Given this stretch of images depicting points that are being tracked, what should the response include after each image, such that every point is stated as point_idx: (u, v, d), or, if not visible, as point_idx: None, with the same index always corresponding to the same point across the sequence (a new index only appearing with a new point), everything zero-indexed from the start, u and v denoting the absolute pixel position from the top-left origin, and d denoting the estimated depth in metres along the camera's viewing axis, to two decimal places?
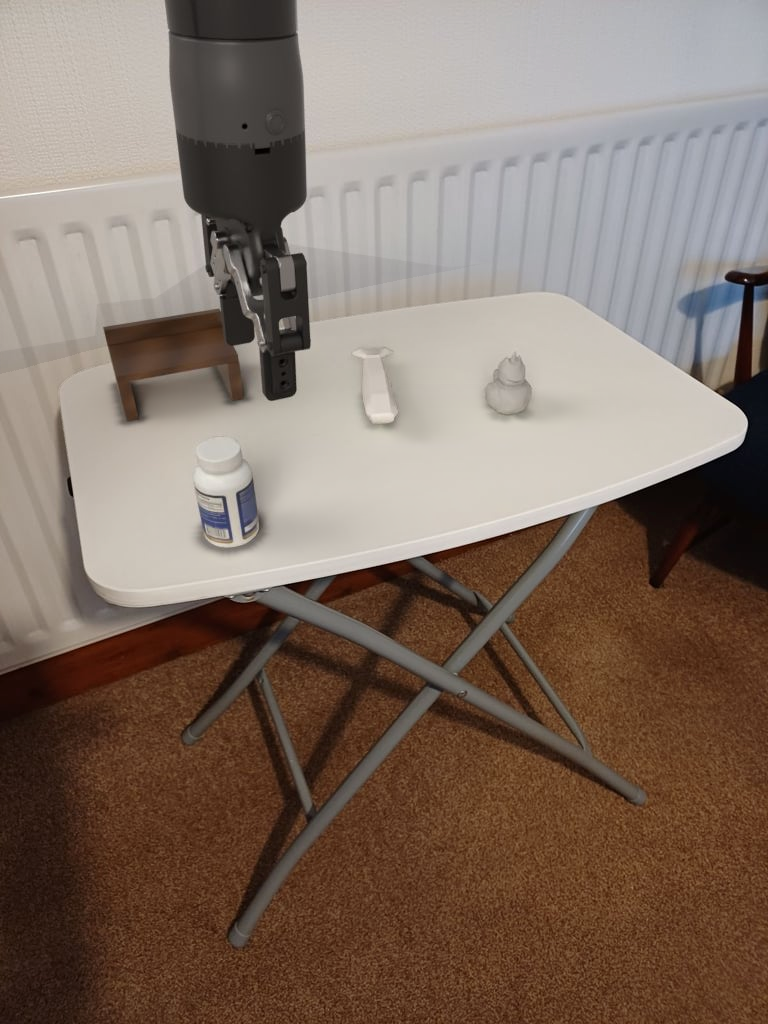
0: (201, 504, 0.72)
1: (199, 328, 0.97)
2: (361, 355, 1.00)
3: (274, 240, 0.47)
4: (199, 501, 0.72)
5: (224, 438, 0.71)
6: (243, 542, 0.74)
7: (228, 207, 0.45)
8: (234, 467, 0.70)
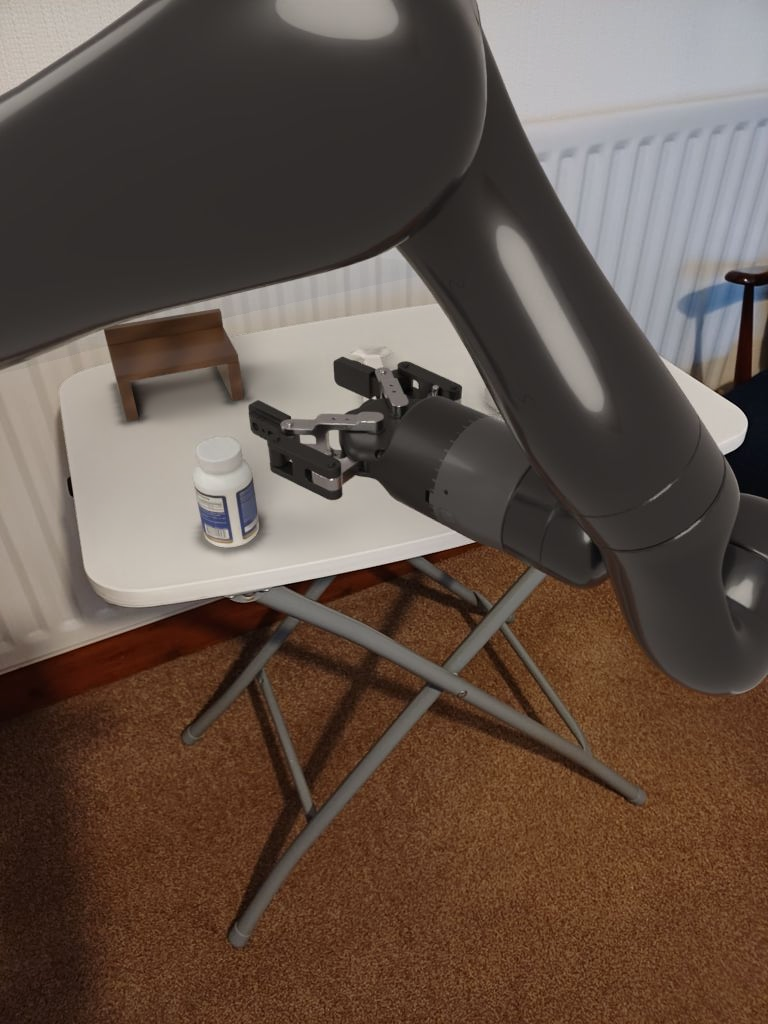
0: (201, 504, 0.72)
1: (199, 328, 0.97)
2: (361, 355, 1.00)
3: (366, 470, 0.51)
4: (199, 501, 0.72)
5: (224, 438, 0.71)
6: (243, 542, 0.74)
7: (396, 446, 0.49)
8: (234, 467, 0.70)
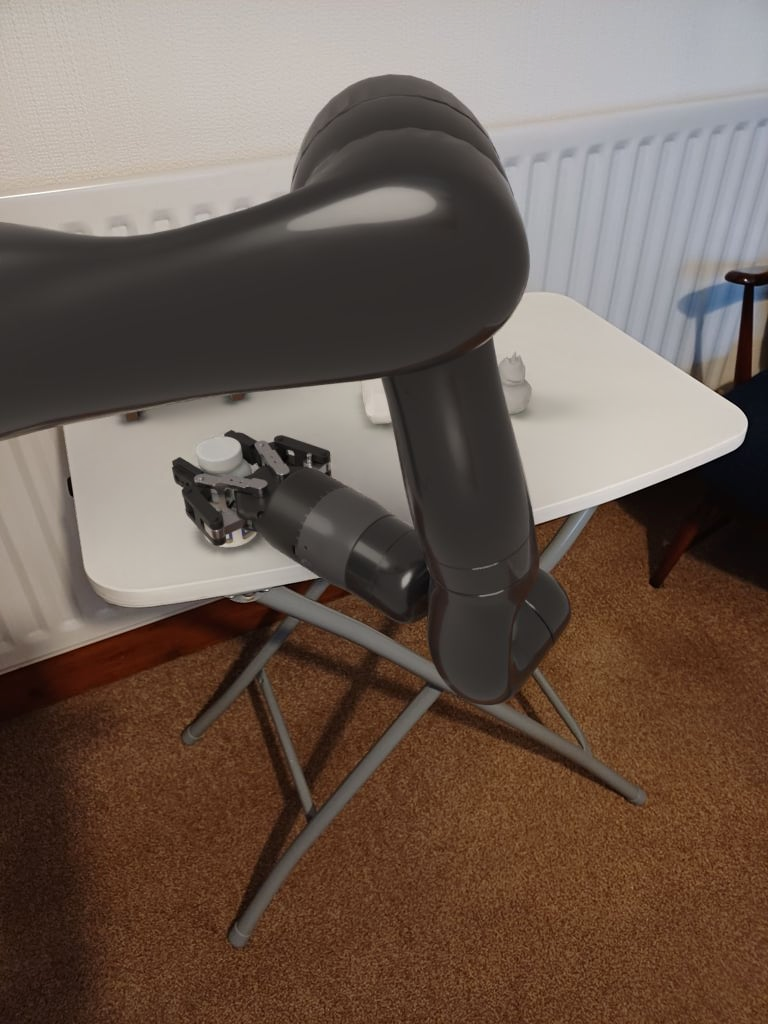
0: None
1: None
2: None
3: (249, 526, 0.65)
4: None
5: (224, 438, 0.71)
6: (243, 542, 0.74)
7: (271, 510, 0.63)
8: (234, 467, 0.70)
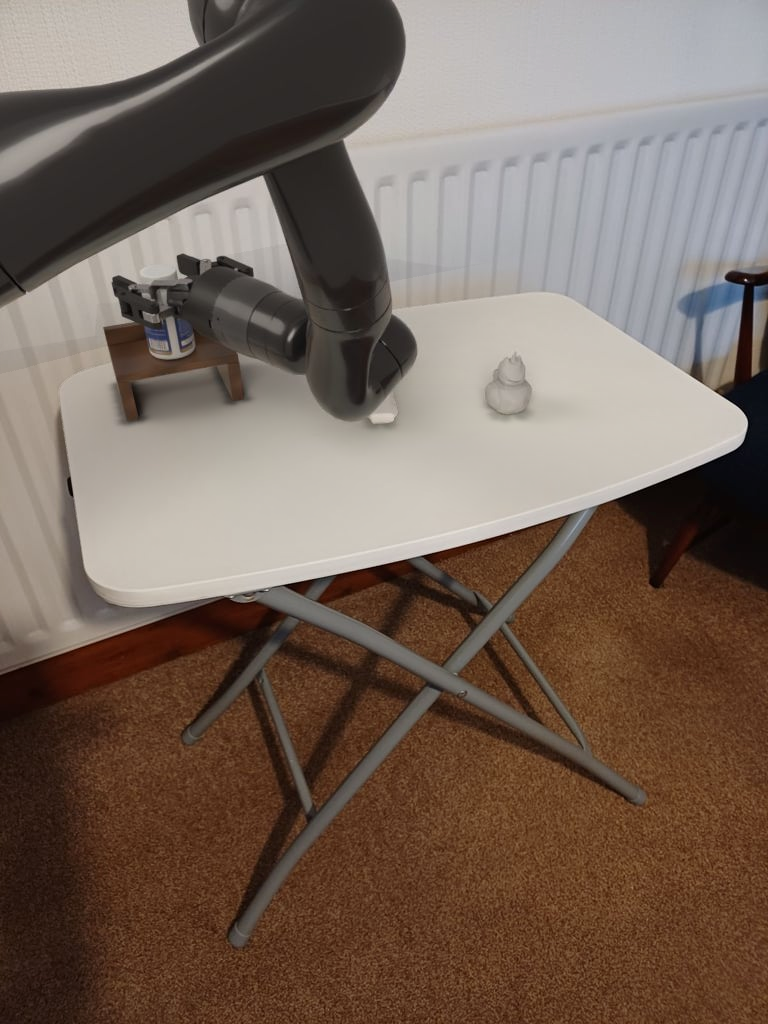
0: None
1: None
2: None
3: (179, 313, 0.81)
4: None
5: (163, 265, 0.88)
6: (181, 355, 0.91)
7: (192, 294, 0.78)
8: None
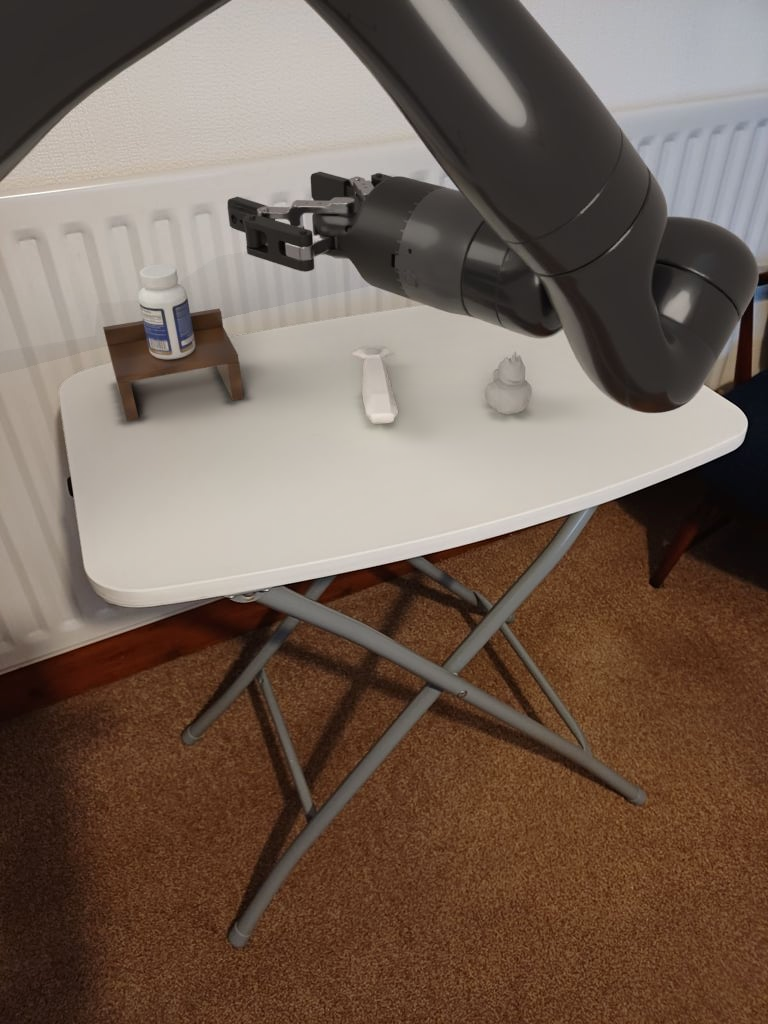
0: (145, 319, 0.88)
1: (199, 328, 0.97)
2: (361, 355, 1.00)
3: (337, 248, 0.54)
4: (143, 316, 0.88)
5: (163, 264, 0.88)
6: (181, 355, 0.91)
7: (364, 215, 0.51)
8: (170, 285, 0.86)
